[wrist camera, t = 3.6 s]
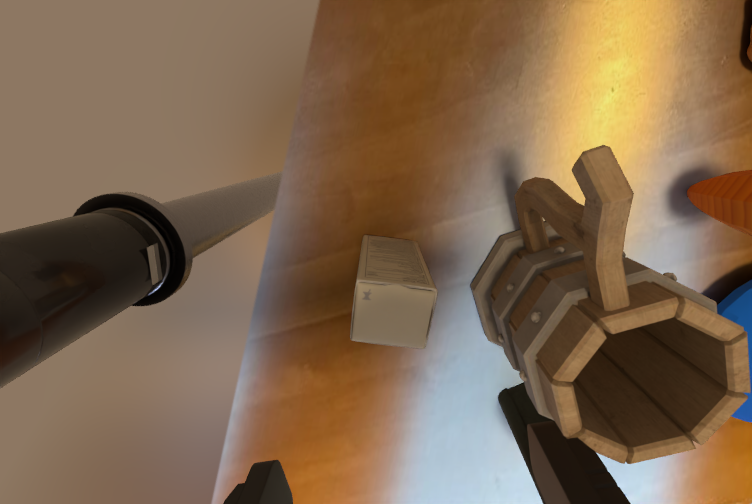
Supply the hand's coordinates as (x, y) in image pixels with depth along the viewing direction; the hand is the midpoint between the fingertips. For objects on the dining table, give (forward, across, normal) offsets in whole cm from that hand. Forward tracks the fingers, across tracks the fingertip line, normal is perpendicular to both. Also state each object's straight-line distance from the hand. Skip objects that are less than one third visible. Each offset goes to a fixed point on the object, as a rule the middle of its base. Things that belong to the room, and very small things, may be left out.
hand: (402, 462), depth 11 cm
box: (+22, 0, 0) cm, 22 cm away
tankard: (+22, -13, +2) cm, 25 cm away
